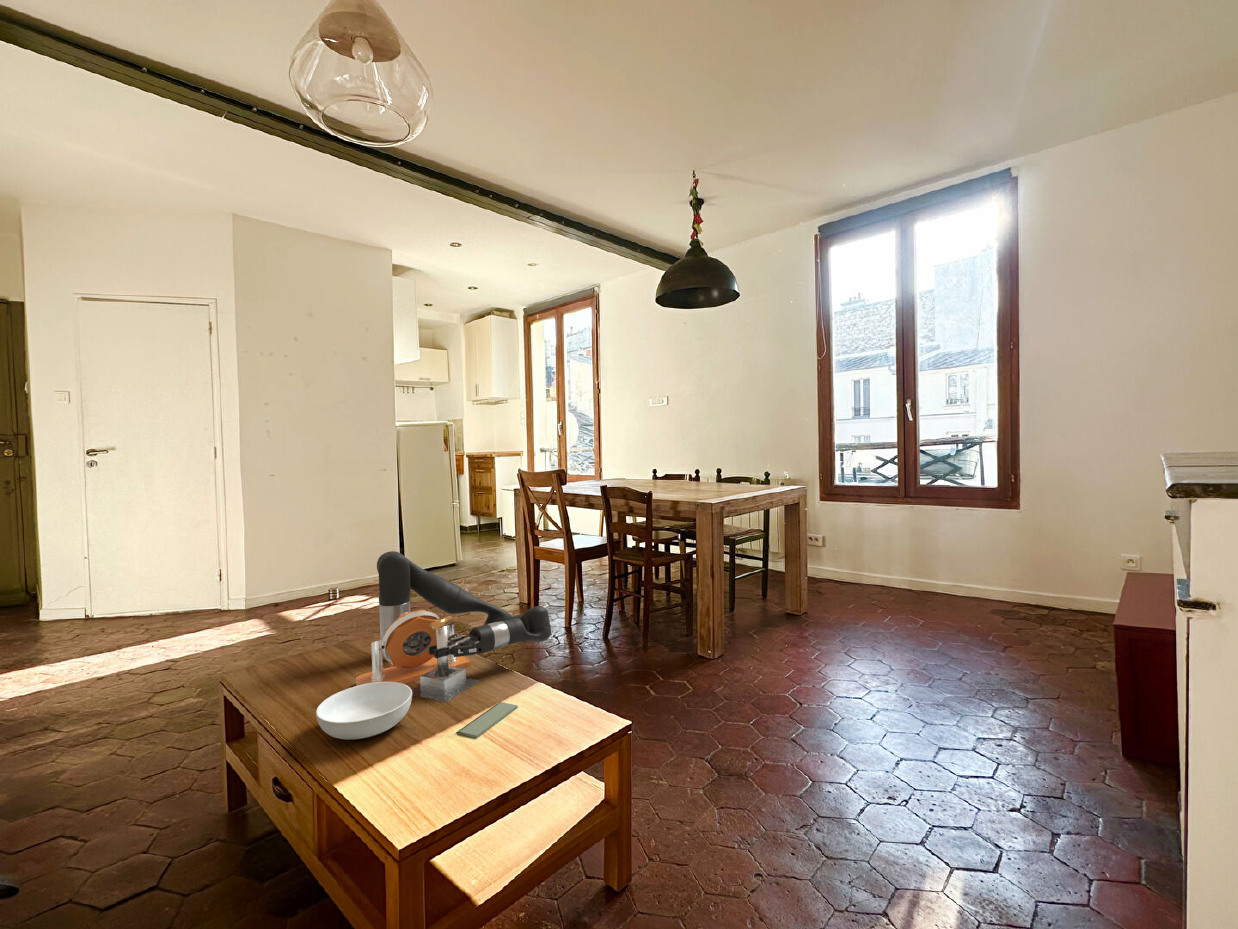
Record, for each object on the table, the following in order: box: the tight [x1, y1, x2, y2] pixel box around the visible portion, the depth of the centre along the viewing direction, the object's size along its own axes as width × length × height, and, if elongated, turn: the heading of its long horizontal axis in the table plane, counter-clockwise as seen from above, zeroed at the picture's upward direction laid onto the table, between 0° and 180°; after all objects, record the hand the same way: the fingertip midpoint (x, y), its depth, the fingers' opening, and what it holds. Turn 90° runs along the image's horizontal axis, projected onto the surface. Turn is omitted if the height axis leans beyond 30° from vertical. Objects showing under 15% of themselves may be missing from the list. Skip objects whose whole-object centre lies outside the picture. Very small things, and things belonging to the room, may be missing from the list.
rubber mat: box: [455, 701, 519, 739], centre depth 139 cm, size 16×16×1 cm
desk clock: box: [355, 609, 472, 686], centre depth 164 cm, size 12×30×20 cm, turn 127°
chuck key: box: [429, 615, 454, 678], centre depth 154 cm, size 7×4×18 cm, turn 155°
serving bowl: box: [315, 682, 413, 741], centre depth 134 cm, size 21×21×7 cm
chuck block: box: [411, 666, 481, 703], centre depth 154 cm, size 14×14×5 cm
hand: (432, 652), depth 152 cm, fingers closed on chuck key, 3 cm apart
